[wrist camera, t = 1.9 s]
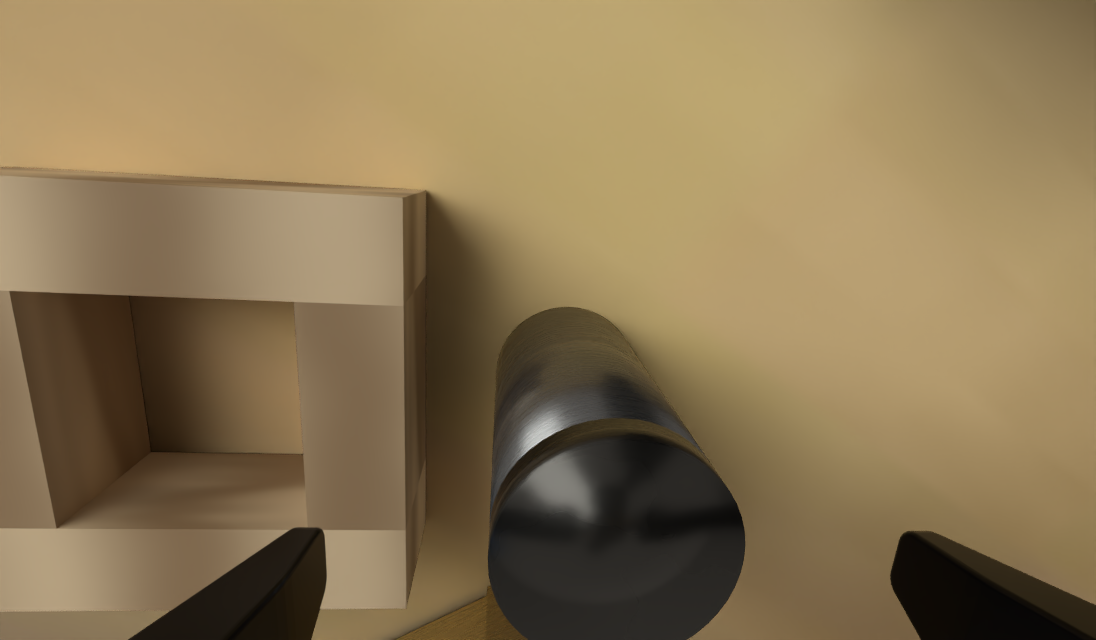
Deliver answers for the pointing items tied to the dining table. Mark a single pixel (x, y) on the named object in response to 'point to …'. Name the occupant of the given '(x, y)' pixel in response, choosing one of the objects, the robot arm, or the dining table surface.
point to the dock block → (117, 400)
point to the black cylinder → (601, 493)
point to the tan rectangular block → (470, 624)
